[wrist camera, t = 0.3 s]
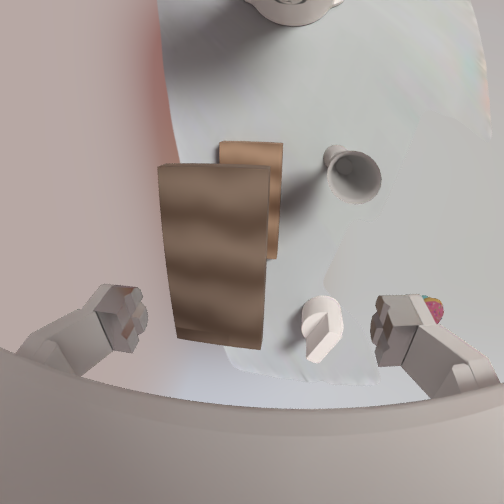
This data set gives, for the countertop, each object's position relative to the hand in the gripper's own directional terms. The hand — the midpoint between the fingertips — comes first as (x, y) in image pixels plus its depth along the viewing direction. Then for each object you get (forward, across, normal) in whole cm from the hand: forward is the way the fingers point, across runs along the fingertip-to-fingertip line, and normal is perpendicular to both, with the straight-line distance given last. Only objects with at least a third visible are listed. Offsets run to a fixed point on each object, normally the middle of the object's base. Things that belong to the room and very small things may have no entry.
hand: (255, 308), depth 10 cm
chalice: (+47, -10, +4) cm, 48 cm away
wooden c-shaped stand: (+47, +6, +12) cm, 49 cm away
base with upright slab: (+45, -10, +38) cm, 60 cm away
